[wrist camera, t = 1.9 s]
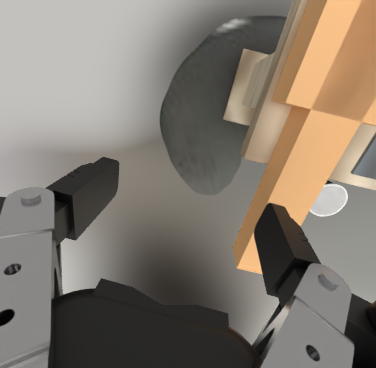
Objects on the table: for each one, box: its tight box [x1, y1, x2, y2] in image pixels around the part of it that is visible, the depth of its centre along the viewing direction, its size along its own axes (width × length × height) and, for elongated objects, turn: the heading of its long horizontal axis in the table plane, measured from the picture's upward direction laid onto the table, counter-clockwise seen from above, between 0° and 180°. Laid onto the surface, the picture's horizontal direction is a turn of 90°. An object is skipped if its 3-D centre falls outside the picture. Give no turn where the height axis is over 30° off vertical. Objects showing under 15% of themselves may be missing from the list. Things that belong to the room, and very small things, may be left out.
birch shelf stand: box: [223, 0, 376, 190], centre depth 29 cm, size 16×14×32 cm
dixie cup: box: [310, 180, 348, 216], centre depth 47 cm, size 8×8×11 cm
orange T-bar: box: [233, 0, 376, 274], centre depth 16 cm, size 7×22×3 cm, turn 167°
